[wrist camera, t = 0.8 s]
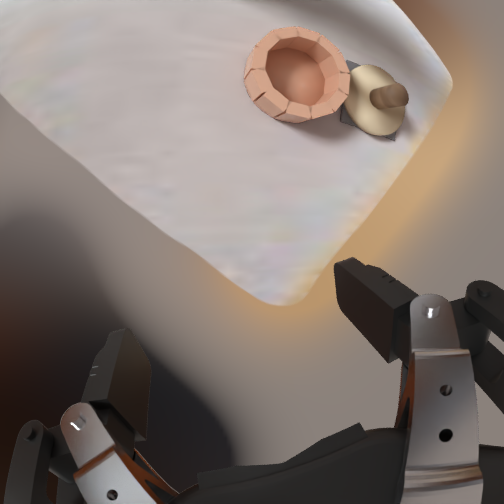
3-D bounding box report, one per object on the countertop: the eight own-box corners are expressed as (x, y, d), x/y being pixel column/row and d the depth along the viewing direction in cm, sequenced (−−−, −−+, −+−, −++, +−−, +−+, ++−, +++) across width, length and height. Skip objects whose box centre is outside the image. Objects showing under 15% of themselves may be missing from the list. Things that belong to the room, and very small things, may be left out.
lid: (344, 56, 30) (368, 43, 24) (401, 82, 32) (427, 76, 26) (338, 123, 33) (363, 119, 27) (396, 144, 35) (424, 145, 30)
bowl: (251, 33, 27) (260, 17, 22) (334, 56, 30) (352, 45, 25) (237, 112, 30) (245, 105, 26) (325, 131, 33) (344, 128, 29)
